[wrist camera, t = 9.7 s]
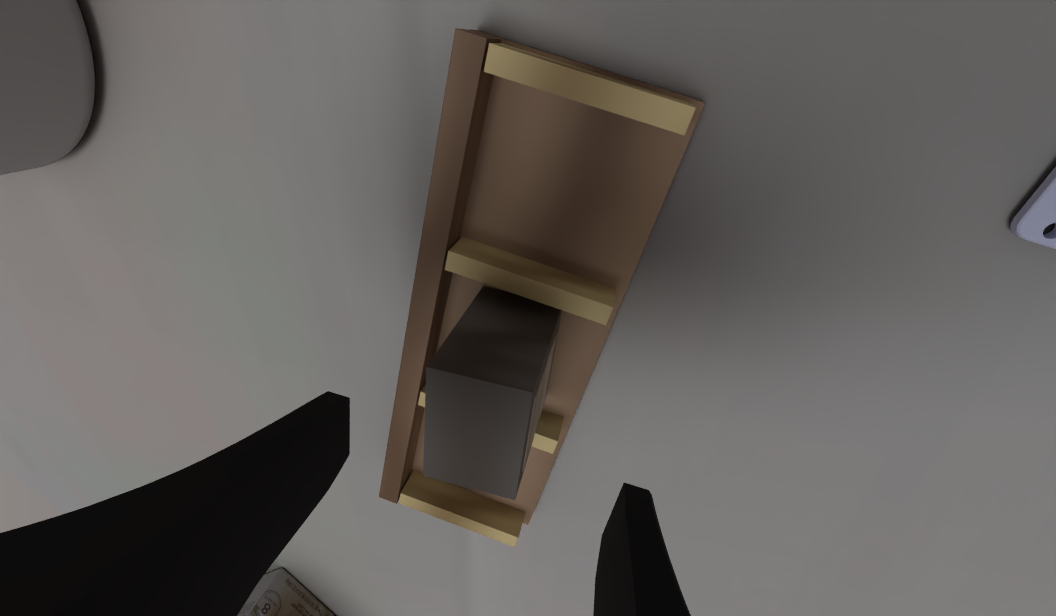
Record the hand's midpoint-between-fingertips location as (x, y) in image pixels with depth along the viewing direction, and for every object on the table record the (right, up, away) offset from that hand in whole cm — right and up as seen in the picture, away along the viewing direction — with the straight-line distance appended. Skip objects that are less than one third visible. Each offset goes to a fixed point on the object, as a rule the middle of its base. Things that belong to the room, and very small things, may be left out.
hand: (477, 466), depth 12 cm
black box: (+1, +2, +9) cm, 9 cm away
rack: (0, +3, +10) cm, 10 cm away
